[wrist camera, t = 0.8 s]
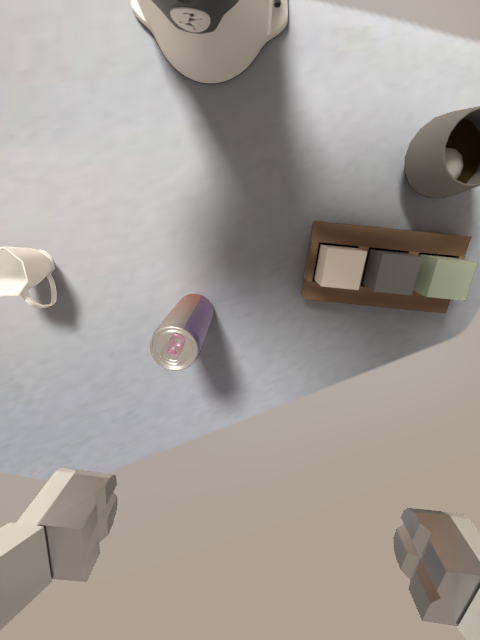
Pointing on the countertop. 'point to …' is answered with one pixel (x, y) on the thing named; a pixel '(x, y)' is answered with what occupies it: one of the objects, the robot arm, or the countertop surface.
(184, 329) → the beverage can
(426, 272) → the sage key
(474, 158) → the cup
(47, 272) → the cup
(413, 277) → the graphite key
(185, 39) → the robot arm
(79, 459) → the countertop surface
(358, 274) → the ivory key
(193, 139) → the countertop surface
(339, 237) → the wooden tray
